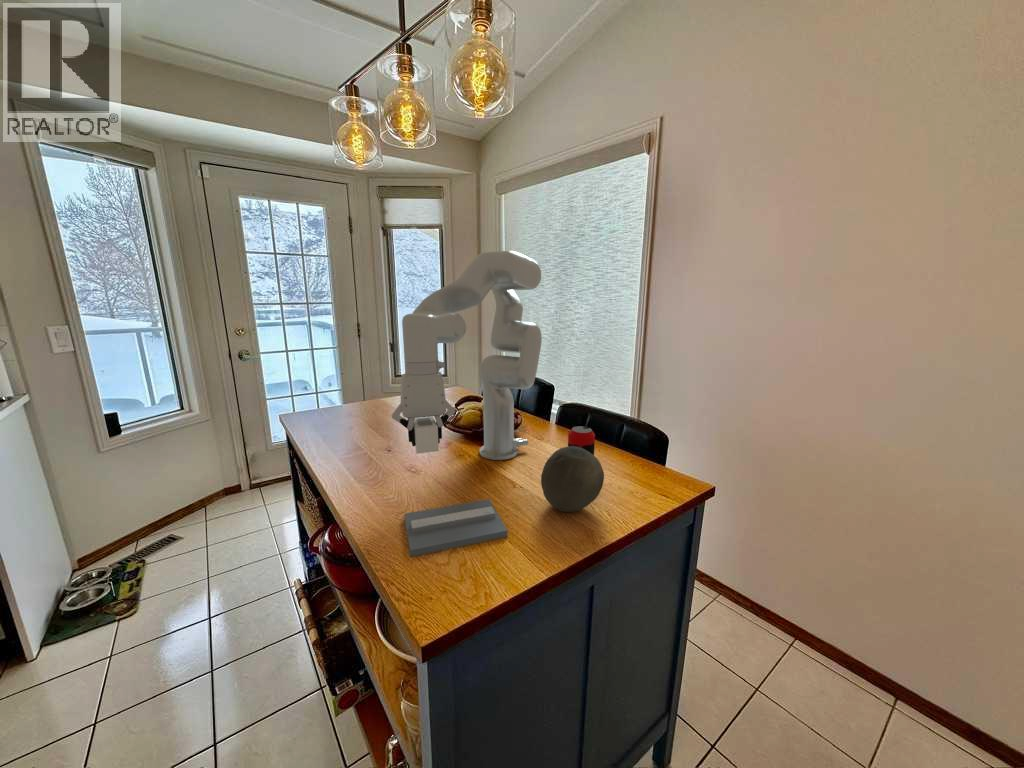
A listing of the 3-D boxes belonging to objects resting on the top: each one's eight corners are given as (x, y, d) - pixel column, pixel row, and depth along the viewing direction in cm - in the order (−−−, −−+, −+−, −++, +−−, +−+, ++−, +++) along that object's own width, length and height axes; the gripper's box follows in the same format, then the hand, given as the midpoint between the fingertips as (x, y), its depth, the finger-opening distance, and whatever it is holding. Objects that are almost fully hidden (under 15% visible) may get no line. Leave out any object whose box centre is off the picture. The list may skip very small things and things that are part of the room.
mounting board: (489, 504, 98) (489, 498, 97) (507, 536, 85) (507, 530, 84) (404, 519, 91) (404, 513, 91) (410, 557, 78) (410, 550, 78)
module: (433, 439, 100) (432, 415, 99) (438, 451, 93) (437, 425, 92) (413, 441, 99) (412, 417, 98) (416, 453, 92) (415, 427, 90)
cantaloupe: (560, 530, 87) (561, 466, 84) (531, 500, 100) (531, 443, 96) (613, 516, 92) (617, 455, 89) (579, 489, 105) (581, 435, 102)
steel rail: (491, 511, 92) (491, 506, 92) (495, 517, 89) (495, 512, 89) (411, 525, 86) (410, 520, 86) (412, 533, 83) (412, 528, 83)
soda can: (598, 468, 118) (600, 429, 115) (584, 476, 112) (585, 436, 110) (576, 460, 123) (578, 423, 120) (562, 468, 117) (563, 429, 115)
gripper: (455, 363, 98) (457, 434, 102) (382, 367, 93) (387, 441, 97) (461, 368, 91) (463, 444, 95) (383, 373, 86) (389, 453, 90)
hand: (425, 442), depth 96 cm, fingers closed on module, 5 cm apart
